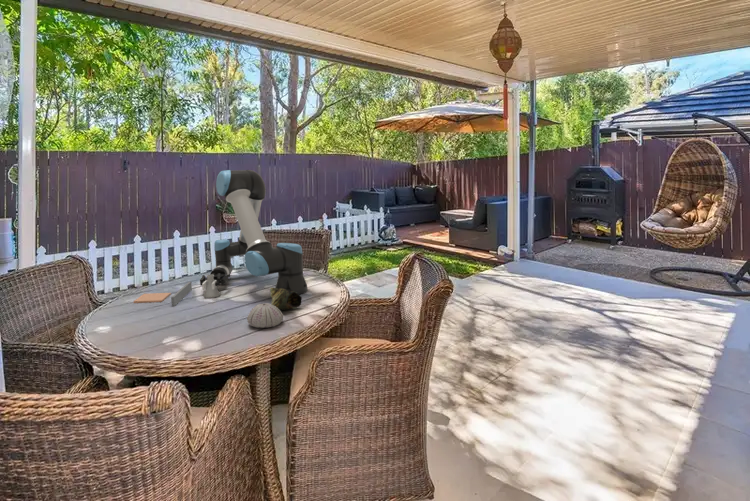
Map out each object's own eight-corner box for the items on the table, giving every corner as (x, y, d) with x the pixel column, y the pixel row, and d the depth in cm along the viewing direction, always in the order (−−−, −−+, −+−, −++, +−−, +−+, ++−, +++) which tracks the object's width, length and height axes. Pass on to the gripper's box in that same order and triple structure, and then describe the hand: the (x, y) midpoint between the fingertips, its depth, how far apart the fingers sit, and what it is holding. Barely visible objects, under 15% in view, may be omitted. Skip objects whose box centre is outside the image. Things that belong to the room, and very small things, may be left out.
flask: (213, 293, 211) (212, 272, 209) (223, 295, 207) (221, 274, 205) (200, 296, 205) (198, 275, 203) (209, 299, 201) (208, 278, 199)
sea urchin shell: (250, 319, 175) (249, 299, 174) (285, 317, 177) (284, 298, 175) (244, 331, 162) (243, 310, 161) (282, 329, 164) (281, 308, 162)
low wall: (189, 289, 217) (188, 281, 216) (191, 289, 217) (191, 281, 216) (171, 306, 192) (171, 297, 191) (174, 306, 192) (173, 297, 191)
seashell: (293, 315, 179) (292, 291, 177) (267, 314, 181) (266, 290, 179) (303, 307, 189) (302, 284, 187) (277, 306, 191) (276, 283, 189)
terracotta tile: (144, 295, 208) (144, 293, 208) (171, 294, 210) (170, 292, 209) (133, 303, 196) (133, 301, 196) (162, 301, 198) (161, 300, 198)
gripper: (237, 280, 224) (227, 294, 201) (203, 282, 222) (189, 295, 199) (236, 266, 223) (226, 277, 200) (201, 267, 221) (188, 279, 198)
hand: (207, 286), depth 199 cm, fingers closed on flask, 3 cm apart
